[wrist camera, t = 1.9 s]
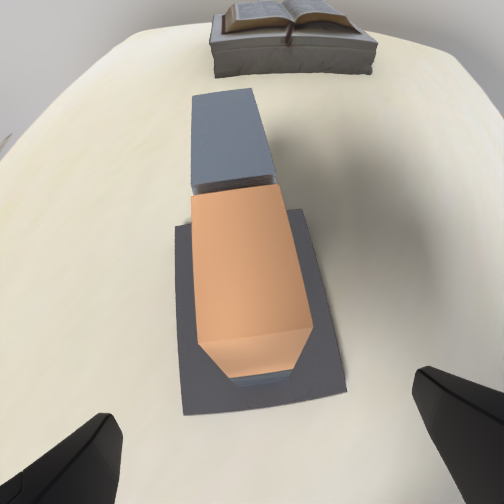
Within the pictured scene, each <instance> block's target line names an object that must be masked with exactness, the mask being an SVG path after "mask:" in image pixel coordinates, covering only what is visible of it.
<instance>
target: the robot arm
mask: <svg viewBox="0 0 504 504" xmlns="http://www.w3.org/2000/svg"><path fill="white" fill-rule="evenodd" d="M412 395H413V398H414V400H415V403H416V405H417V407H418V410H419V412H420V414H421V417H422V419H423V421H424V424H425V426H426V429H427V431H428V433H429V435H430V437H431V439H432V441H433V442H434V444H435V446H436V448H437V450H438V451H439V453H440V455H441V457H442V459H443V461H444V462H445V464H446V466H447V468H448V470H449V472H450V474H451V475H452V477H453V479H454V481H455V483H456V485H457V487H458V489H459V491H460V493H461V495H462V497H463V499H464V501H465V503H466V504H504V393H503V392H500V391H497V390H494V389H491V388H488V387H485V386H483V385H480V384H477V383H474V382H472V381H469V380H466V379H463V378H461V377H458V376H455V375H452V374H450V373H447V372H444V371H442V370H439V369H437V368H434V367H431V366H425V367H422V368H420V369H418V370H417V371H416V373H415V378H414V382H413V387H412ZM122 443H123V434H122V431H121V429H120V427H119V426H118V424H117V422H116V420H115V418H114V416H113V415H112V414H110V413H98V414H97V415H95V416H94V417H93V418H91V419H90V420H89V421H88V422H86V423H85V424H84V425H82V426H81V427H80V428H78V429H77V430H76V431H75V432H73V433H72V434H71V435H69V436H68V437H67V438H65V439H64V440H63V441H61V442H60V443H59V444H58V445H56V446H55V447H54V448H52V449H51V450H50V451H48V452H47V453H46V454H44V455H43V456H41V457H40V458H39V459H37V460H36V461H35V462H33V463H32V464H31V465H29V466H28V467H27V468H25V469H24V470H23V472H22V471H21V472H20V473H18V474H17V475H15V476H14V477H13V478H11V479H10V480H8V481H7V482H5V483H4V484H2V485H1V486H0V504H114V503H115V498H116V493H117V487H118V482H119V475H120V464H121V453H122Z"/></svg>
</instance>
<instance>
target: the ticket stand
mask: <svg viewBox="0 0 504 504" xmlns="http://www.w3.org/2000/svg"><path fill="white" fill-rule="evenodd" d="M273 184H276V171H275V167H274V163H273V160H272V156H271V153H270V149H269V146H268V142H267V138H266V135H265V132H264V128H263V125H262V121H261V118H260V114H259V111H258V108H257V104H256V101H255V98H254V94H253V91H252V88H246V89H237V90H229V91H222V92H214V93H208V94H201V95H195V96H192V122H191V187H192V191H193V194H194V195H200V194H207V193H214V192H220V191H227V190H234V189H242V188H249V187H257V186H265V185H273ZM286 212H287V216H288V220H289V224H290V228H291V232H292V236H293V240H294V244H295V248H296V252H297V257H298V261H299V265H300V269H301V273H302V278H303V282H304V286H305V291H306V295H307V300H308V304H309V309H310V313H311V318H312V322H313V329H312V331H311V333H310V335H309V337H308V339H307V341H306V343H305V346H304V348H303V350H302V352H301V354H300V356H299V358H298V360H297V362H296V364H295V366H294V368H293V370H288V371H282V372H276V373H270V374H263V375H256V376H248V377H240V378H232V379H229V378H228V376H227V375H226V374H225V373H224V372H223V371H222V370H221V369H220V368H219V367H218V365H217V364H216V363H215V362H214V361H213V360H212V359H211V358H210V356H209V355H208V354H207V353H206V352H205V351H204V350H203V349H202V347H201V346H200V345H199V344H198V337H197V324H196V310H195V293H194V274H193V252H192V224H187V225H181V226H175V292H176V321H177V340H178V357H179V371H180V383H181V395H182V405H183V415H185V416H193V415H208V414H220V413H231V412H240V411H248V410H256V409H264V408H270V407H277V406H283V405H289V404H295V403H300V402H306V401H311V400H316V399H320V398H325V397H330V396H334V395H338V394H343V393H345V392H347V388H346V383H345V378H344V373H343V369H342V364H341V359H340V355H339V350H338V346H337V341H336V337H335V332H334V328H333V324H332V320H331V315H330V311H329V307H328V303H327V299H326V295H325V291H324V287H323V283H322V279H321V276H320V272H319V268H318V264H317V261H316V257H315V253H314V250H313V246H312V242H311V239H310V235H309V232H308V228H307V225H306V221H305V218H304V214H303V211H302V209H296V210H287V211H286Z"/></svg>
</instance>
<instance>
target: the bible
mask: <svg viewBox="0 0 504 504" xmlns="http://www.w3.org/2000/svg"><path fill="white" fill-rule="evenodd" d="M209 44H210V46H211V52H212V55H213V58H214V74H215V78H225V77H233V76H239V75H251V74H272V73H314V72H315V73H321V72H323V73H335V74H355V75H359V74H366V75H370V74H372V67H371V65H372V63H373V62H374V59H375V55H376V48H377V45H378V42H377V41H375V40H374V39H373V38H372V37H371V36H369V35H368V34H367V33H366V32H365V31H363V30H362V29H360V28H359V27H358V26H356V25H355V24H354V23H352V22H351V21H350V20H349V19H348V18H347V16H346V15H344V14H342V13H340V12H339V11H337V10H335V9H334V8H333V7H331V6H330V5H329V4H328V3H327V2H326V1H325V0H285V1H284V2H283V3H281V4H279V3H277V2H275V1H268V0H266V1H257V2H249V3H235V4H234V5H232V6H231V7H230V8H229V9H228V11H227V12H226V13H225V14H215V15H214V17H213V22H212V29H211V34H210V39H209Z"/></svg>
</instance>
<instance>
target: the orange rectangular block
mask: <svg viewBox="0 0 504 504" xmlns="http://www.w3.org/2000/svg"><path fill="white" fill-rule="evenodd" d="M191 219H192V252H193V274H194V293H195V310H196V324H197V337H198V344H199V345H200V346H201V347H202V349H203V350H204V351H205V352H206V353H207V354H208V355H209V356H210V358H211V359H212V360H213V361H214V362H215V363H216V364H217V365H218V367H219V368H220V369H221V370H222V371H223V372H224V373H225V374H226V375H227V376H228V378H229V379H232V378H240V377H248V376H256V375H263V374H270V373H276V372H282V371H288V370H293V368H294V366H295V364H296V362H297V360H298V358H299V356H300V354H301V352H302V350H303V348H304V346H305V343H306V341H307V339H308V337H309V335H310V333H311V331H312V329H313V322H312V318H311V313H310V309H309V304H308V300H307V295H306V291H305V286H304V282H303V278H302V273H301V269H300V265H299V261H298V257H297V252H296V248H295V244H294V240H293V236H292V232H291V228H290V224H289V220H288V216H287V212H286V208H285V205H284V201H283V197H282V193H281V189H280V186H279V184H273V185H265V186H257V187H249V188H242V189H234V190H227V191H220V192H214V193H207V194H200V195H194V196H191Z"/></svg>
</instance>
